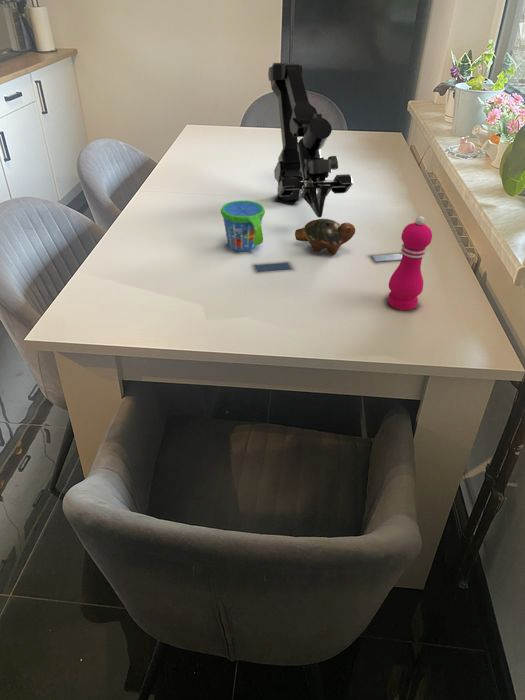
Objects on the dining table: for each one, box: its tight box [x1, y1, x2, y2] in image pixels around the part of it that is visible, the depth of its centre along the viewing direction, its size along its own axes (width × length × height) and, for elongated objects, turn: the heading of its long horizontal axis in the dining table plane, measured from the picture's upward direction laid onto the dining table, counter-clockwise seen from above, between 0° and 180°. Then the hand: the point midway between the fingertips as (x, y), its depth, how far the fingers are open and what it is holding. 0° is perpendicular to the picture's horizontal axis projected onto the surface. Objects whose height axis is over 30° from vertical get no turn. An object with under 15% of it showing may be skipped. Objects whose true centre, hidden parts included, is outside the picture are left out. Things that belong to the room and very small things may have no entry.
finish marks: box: [255, 253, 402, 273], centre depth 133 cm, size 3×38×1 cm, turn 103°
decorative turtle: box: [294, 218, 356, 256], centre depth 137 cm, size 10×15×8 cm, turn 80°
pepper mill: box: [387, 215, 433, 311], centre depth 113 cm, size 7×7×20 cm
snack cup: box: [220, 200, 266, 252], centre depth 136 cm, size 16×10×10 cm
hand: (319, 216), depth 138 cm, fingers closed
